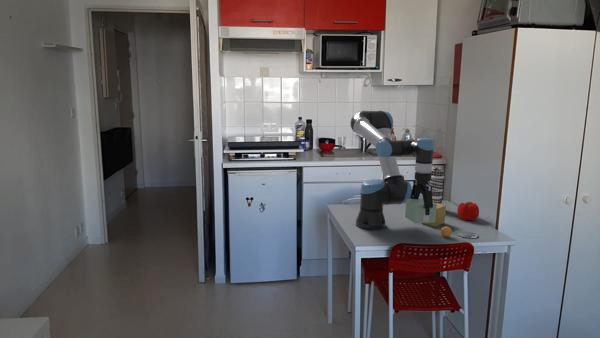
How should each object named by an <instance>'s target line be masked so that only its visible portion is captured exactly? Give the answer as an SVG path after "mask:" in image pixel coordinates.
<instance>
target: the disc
mask: <svg viewBox="0 0 600 338" xmlns="http://www.w3.org/2000/svg"><path fill="white" fill-rule="evenodd" d="M474 234H476V233H475V232H471V231H459V232H457V233H456V235H457V236H458V237H461V238H463V237H464V238H463V239H467V238H470V239H469V240H472V239H471V237H472V236H475V235H474Z"/></svg>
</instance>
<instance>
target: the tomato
mask: <svg viewBox="0 0 600 338" xmlns="http://www.w3.org/2000/svg"><path fill="white" fill-rule="evenodd" d="M456 213H457V215H458V217H459V218H460V219H461V220H463V221H473V220H477V219H478V218H479V215H480V208H479V206H478V204H477V203H475V202H471V201H466V202H465V203H464V202H461V203H459V204H458V207H457V212H456Z"/></svg>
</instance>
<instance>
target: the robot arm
mask: <svg viewBox="0 0 600 338" xmlns="http://www.w3.org/2000/svg"><path fill="white" fill-rule="evenodd" d="M350 128H351V130H352V131H353V132H354V134H356V135H359V136H361V137H363V138H364V139H365V140H366V141H367V142H368V143H370V144H371V145H372V146H373V147H375V152H376V155H377V156H378V161H379V164H380V168H381V172H382V173H381V174H382V176H383V178H382V179H380V178H376V179H375V178H373V179H372V178H371V179H367V180H364V181H363V182H362V183H361V185H360V187H361V188H360V199H359V200H360V201H359V202H360V203H359V204H360V205H359V212H358V213H357V216H356V219H355V225H356V226H357V227H359V228H360V229H363V230H372V231H373V230H374V231H376V230H377V231H378V230H383V229H385V228H386V226H387V225H386V219H385V214H384V206H387V205H388V206H389V205H401V204H403V205H404V204H406V199H420V195H422V199H423V201H424V206H425V207H423V208H424V209H423V222H429V212H430V208H433V200H432V186H429V184H428V183H429V182H430V181H431V176H432V173H431V171H432V167H434V166H433V160H434V151H435V146H434V145H435V144H434V143H435V140H434V139H433V138H430V137H429V138H428V137H419V138H417V140H415V139H412V138H411V139H409V138H406V139H403V140H401V139H400V140H393V139H391V135H390V134H392V130H393V128H394V120H393V116H392V113H390V112H388V111H386V110H361V111H358V112H356V113H355V114H353V116H352V118H350ZM396 157H414V158H415V167H414V170H415V172H414V180H412V184H411V182H410V181H408V180H405V176H404V175H403V174H401V172H400V170H399V165H398V162H397V158H396Z"/></svg>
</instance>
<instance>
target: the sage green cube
mask: <svg viewBox="0 0 600 338" xmlns="http://www.w3.org/2000/svg"><path fill="white" fill-rule="evenodd" d="M423 207H425V206H424V201H423V198H418V199H406V203H405V212H404V213H405V214H404V215H405V218H406V219H408V220H409V221H410V222H412V223H414V224H423V223H432V222H435V220H436V208H437V204H436V203H434V202H433V208H430V212H429V222H423V209H424V208H423Z"/></svg>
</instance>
